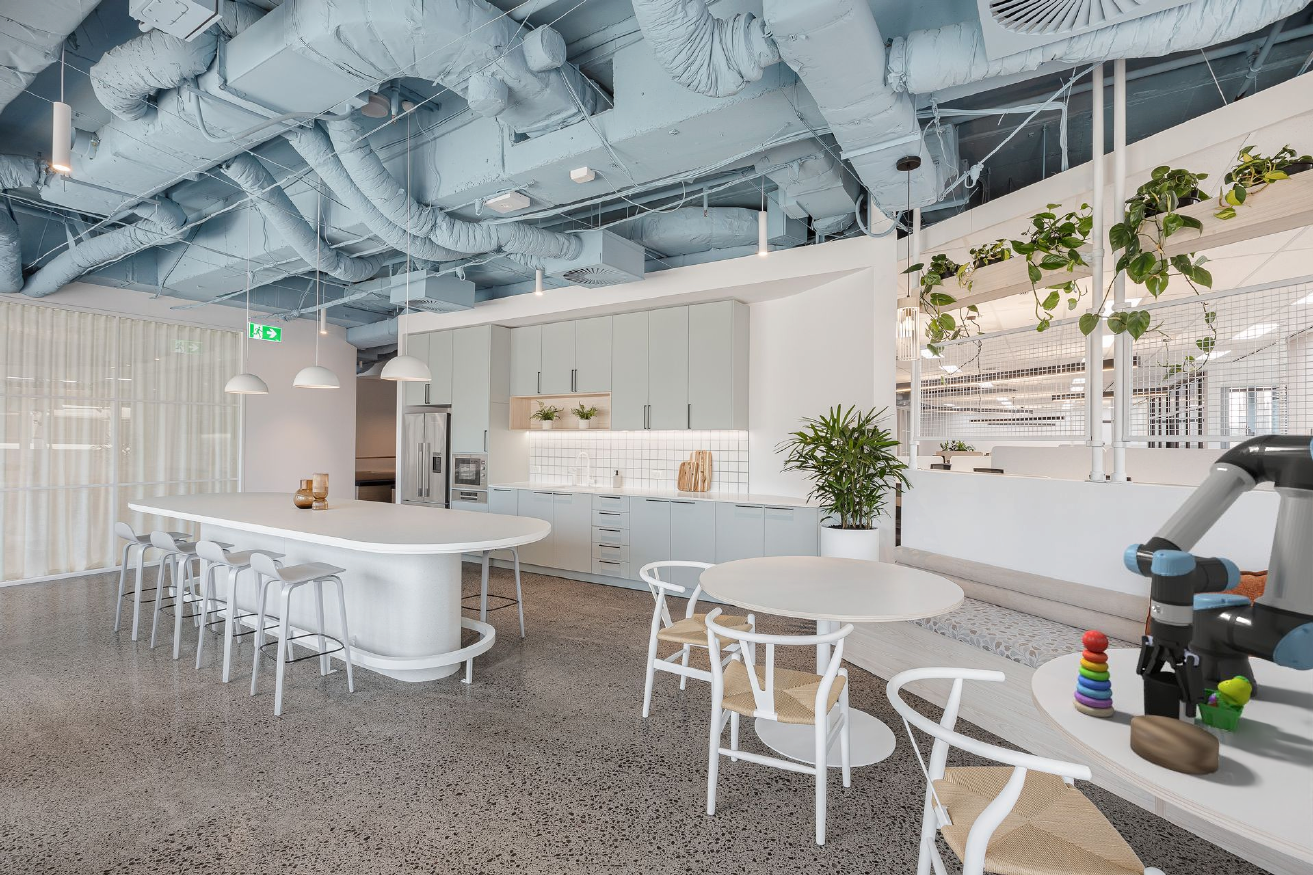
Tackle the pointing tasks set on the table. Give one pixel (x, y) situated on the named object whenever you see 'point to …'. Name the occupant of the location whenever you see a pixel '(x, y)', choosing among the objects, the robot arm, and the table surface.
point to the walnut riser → (1174, 744)
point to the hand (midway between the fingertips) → (1168, 719)
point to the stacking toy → (1094, 677)
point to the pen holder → (1162, 695)
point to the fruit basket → (1225, 703)
